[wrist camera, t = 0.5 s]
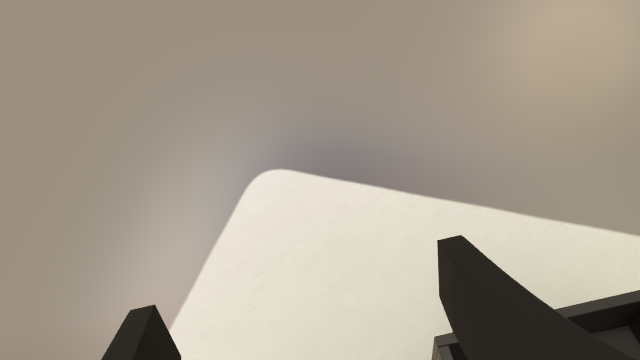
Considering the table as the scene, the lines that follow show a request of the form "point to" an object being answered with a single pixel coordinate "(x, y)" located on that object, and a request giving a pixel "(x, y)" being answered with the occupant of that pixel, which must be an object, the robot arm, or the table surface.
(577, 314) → the black bin
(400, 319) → the table surface
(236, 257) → the table surface
